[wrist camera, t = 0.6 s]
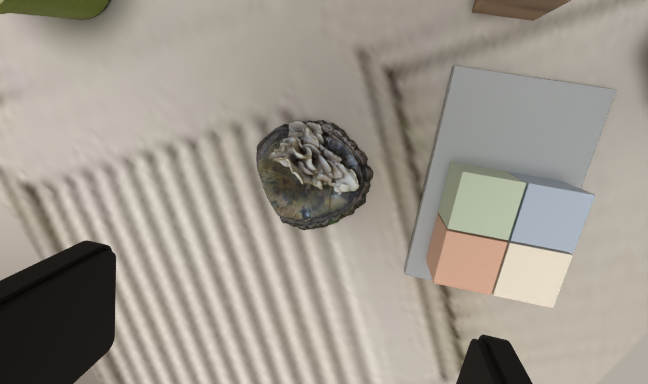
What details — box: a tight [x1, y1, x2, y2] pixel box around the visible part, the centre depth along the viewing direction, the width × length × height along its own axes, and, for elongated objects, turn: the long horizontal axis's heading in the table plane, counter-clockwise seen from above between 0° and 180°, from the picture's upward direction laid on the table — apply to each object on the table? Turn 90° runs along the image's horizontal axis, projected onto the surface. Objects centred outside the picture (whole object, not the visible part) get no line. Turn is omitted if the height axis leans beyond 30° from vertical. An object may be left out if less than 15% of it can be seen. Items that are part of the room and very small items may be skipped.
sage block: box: [438, 162, 526, 240], centre depth 30 cm, size 5×5×5 cm
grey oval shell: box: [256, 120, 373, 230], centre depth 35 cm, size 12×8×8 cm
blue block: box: [507, 172, 595, 253], centre depth 30 cm, size 5×5×5 cm
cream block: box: [492, 239, 573, 308], centre depth 31 cm, size 5×5×5 cm
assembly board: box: [404, 66, 616, 280], centre depth 33 cm, size 20×13×1 cm, turn 171°
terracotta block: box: [426, 213, 507, 295], centre depth 32 cm, size 5×5×5 cm
